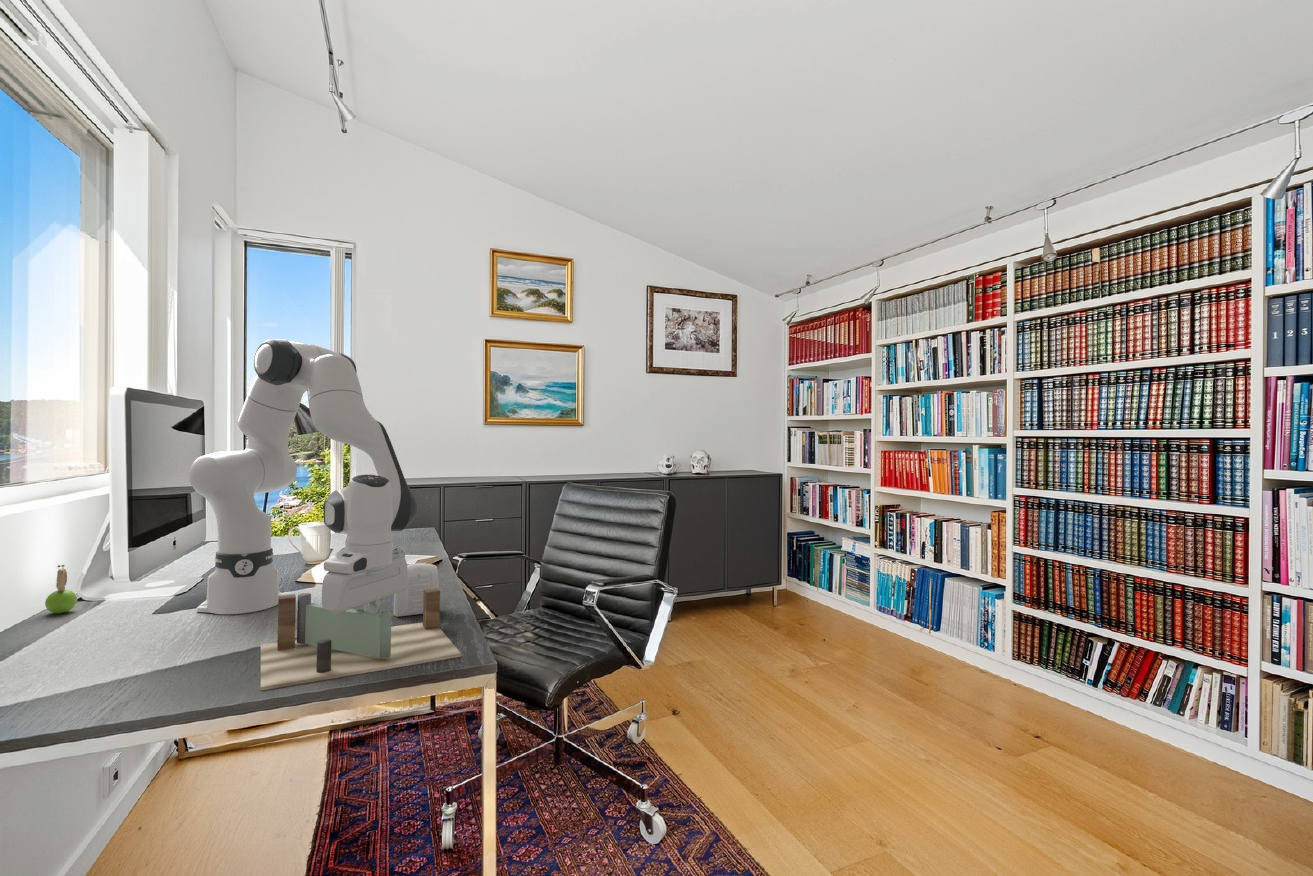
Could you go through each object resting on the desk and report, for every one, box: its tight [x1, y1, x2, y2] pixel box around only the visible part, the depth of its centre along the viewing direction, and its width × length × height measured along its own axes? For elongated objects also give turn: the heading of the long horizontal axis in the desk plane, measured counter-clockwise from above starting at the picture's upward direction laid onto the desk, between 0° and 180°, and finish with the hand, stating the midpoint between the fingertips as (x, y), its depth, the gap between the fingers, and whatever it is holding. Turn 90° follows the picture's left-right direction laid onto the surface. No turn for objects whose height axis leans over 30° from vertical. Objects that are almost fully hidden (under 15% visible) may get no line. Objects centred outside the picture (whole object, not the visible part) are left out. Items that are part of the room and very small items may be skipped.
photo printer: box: [392, 562, 439, 618], centre depth 155 cm, size 10×4×12 cm, turn 123°
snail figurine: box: [44, 564, 78, 614], centre depth 146 cm, size 5×6×12 cm
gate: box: [296, 592, 393, 659], centre depth 126 cm, size 23×2×10 cm, turn 71°
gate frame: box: [260, 587, 462, 691], centre depth 128 cm, size 24×34×11 cm
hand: (367, 622), depth 127 cm, fingers closed
